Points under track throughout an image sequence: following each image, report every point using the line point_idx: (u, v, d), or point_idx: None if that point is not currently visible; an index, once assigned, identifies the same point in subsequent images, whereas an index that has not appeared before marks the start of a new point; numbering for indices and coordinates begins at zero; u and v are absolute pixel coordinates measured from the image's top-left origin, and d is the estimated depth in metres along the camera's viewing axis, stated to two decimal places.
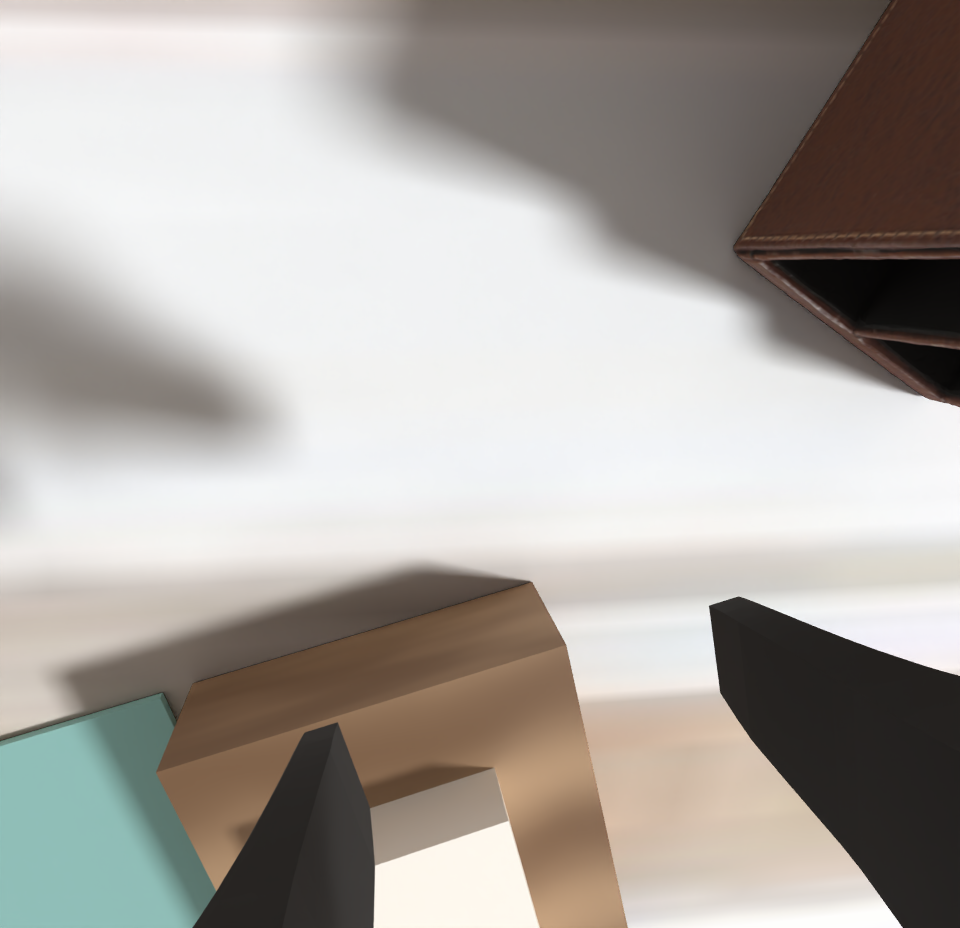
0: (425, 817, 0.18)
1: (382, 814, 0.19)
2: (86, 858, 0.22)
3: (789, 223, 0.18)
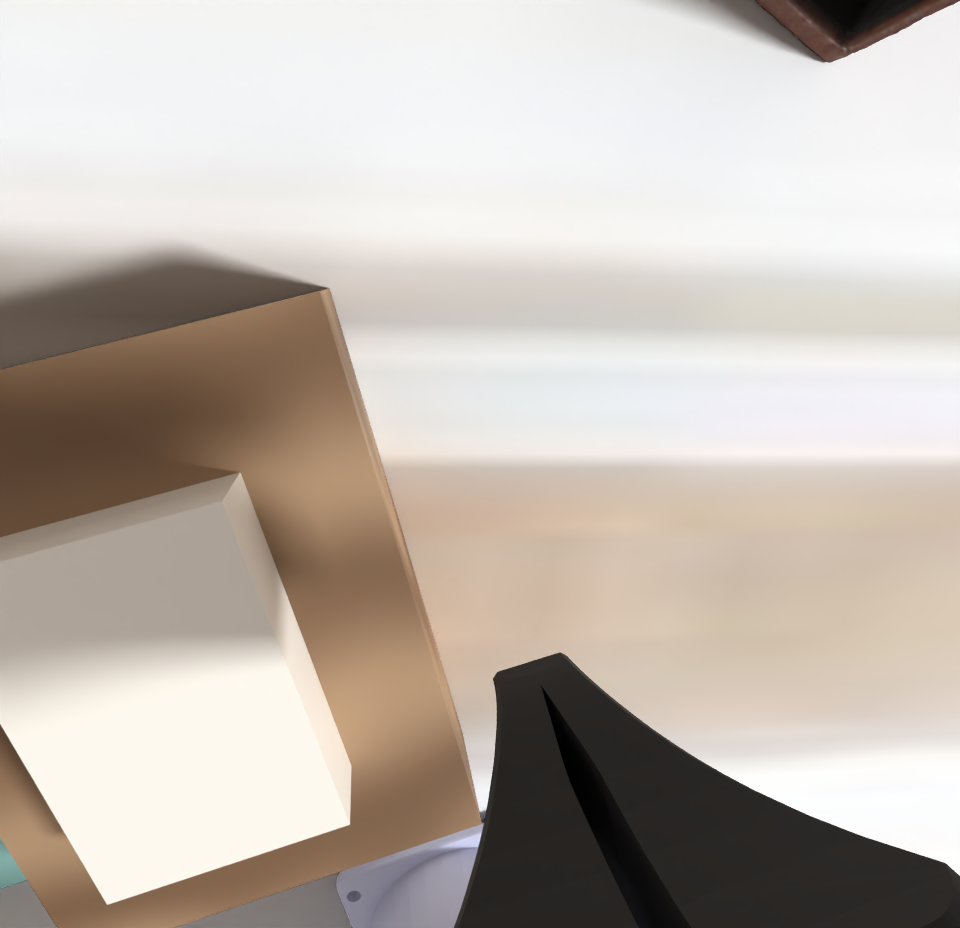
0: (126, 513, 0.14)
1: (79, 519, 0.14)
2: None
3: None
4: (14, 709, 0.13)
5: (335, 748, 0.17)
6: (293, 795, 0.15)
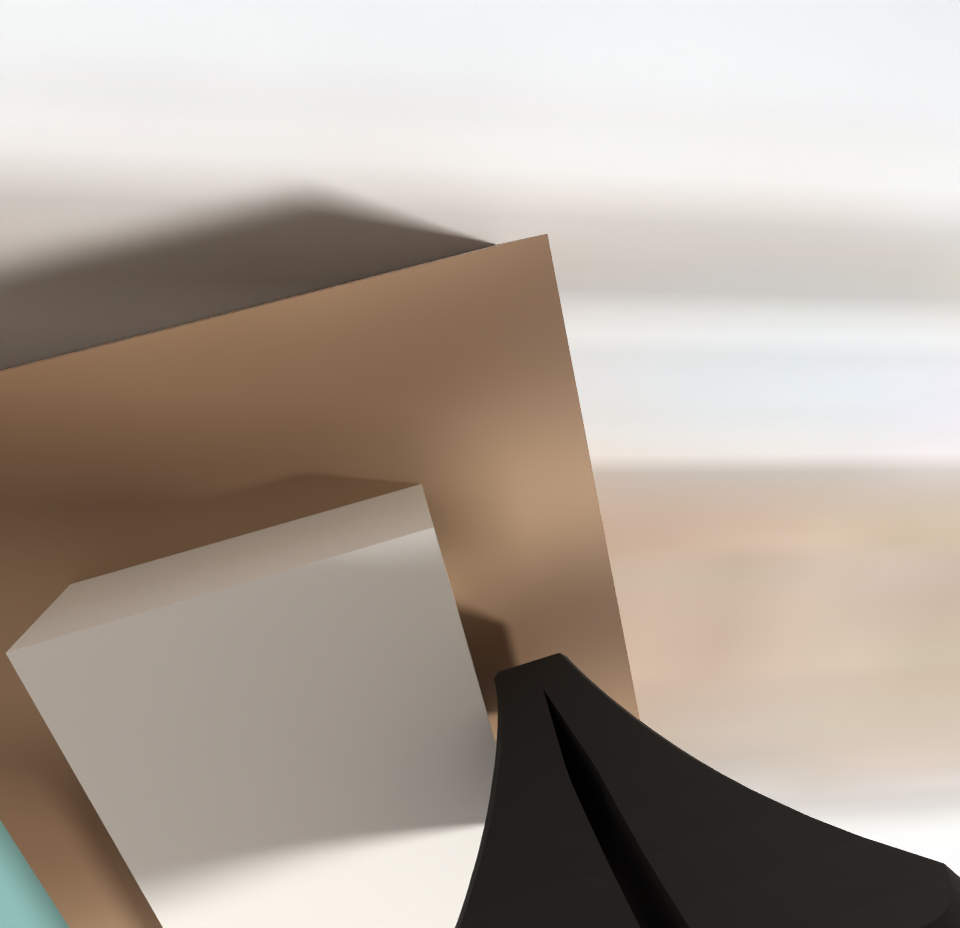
0: (284, 544, 0.10)
1: (212, 551, 0.10)
2: None
3: None
4: (132, 819, 0.10)
5: None
6: None
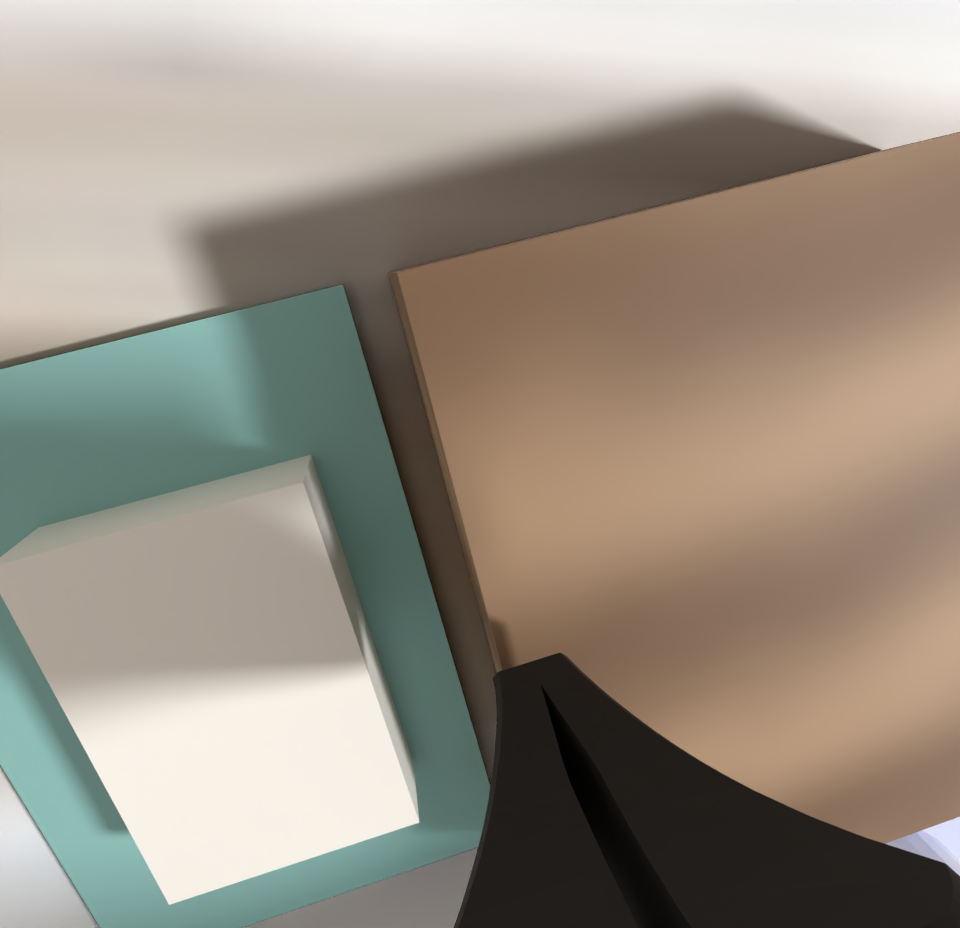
0: (128, 515, 0.13)
1: (182, 508, 0.12)
2: None
3: None
4: None
5: None
6: None
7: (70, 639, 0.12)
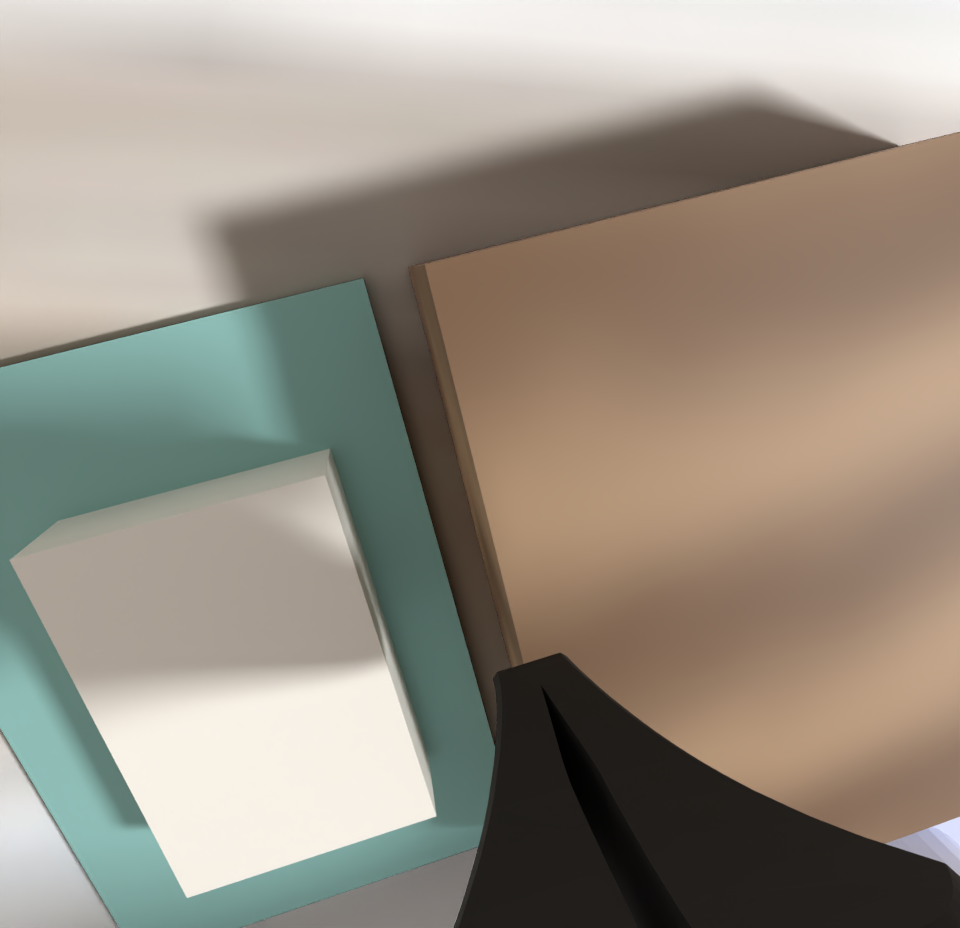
0: (150, 508, 0.13)
1: (204, 501, 0.12)
2: None
3: None
4: None
5: None
6: None
7: (91, 631, 0.12)
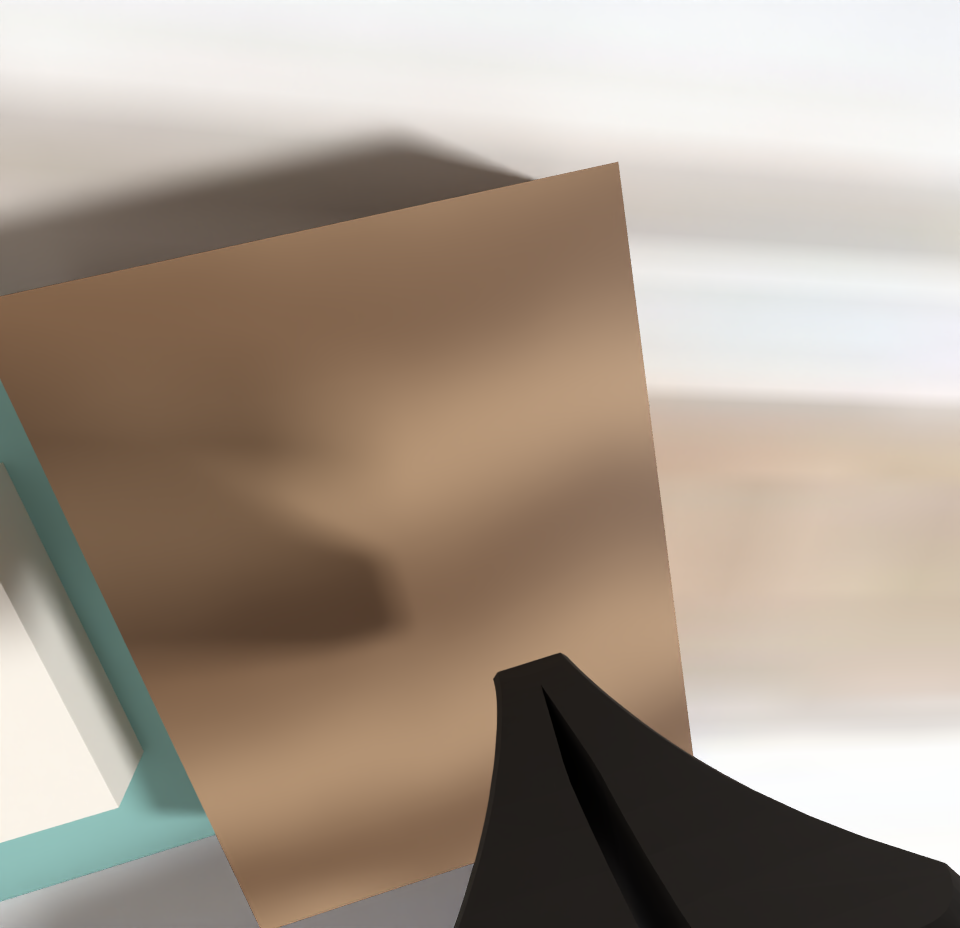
0: None
1: None
2: None
3: None
4: None
5: None
6: None
7: None
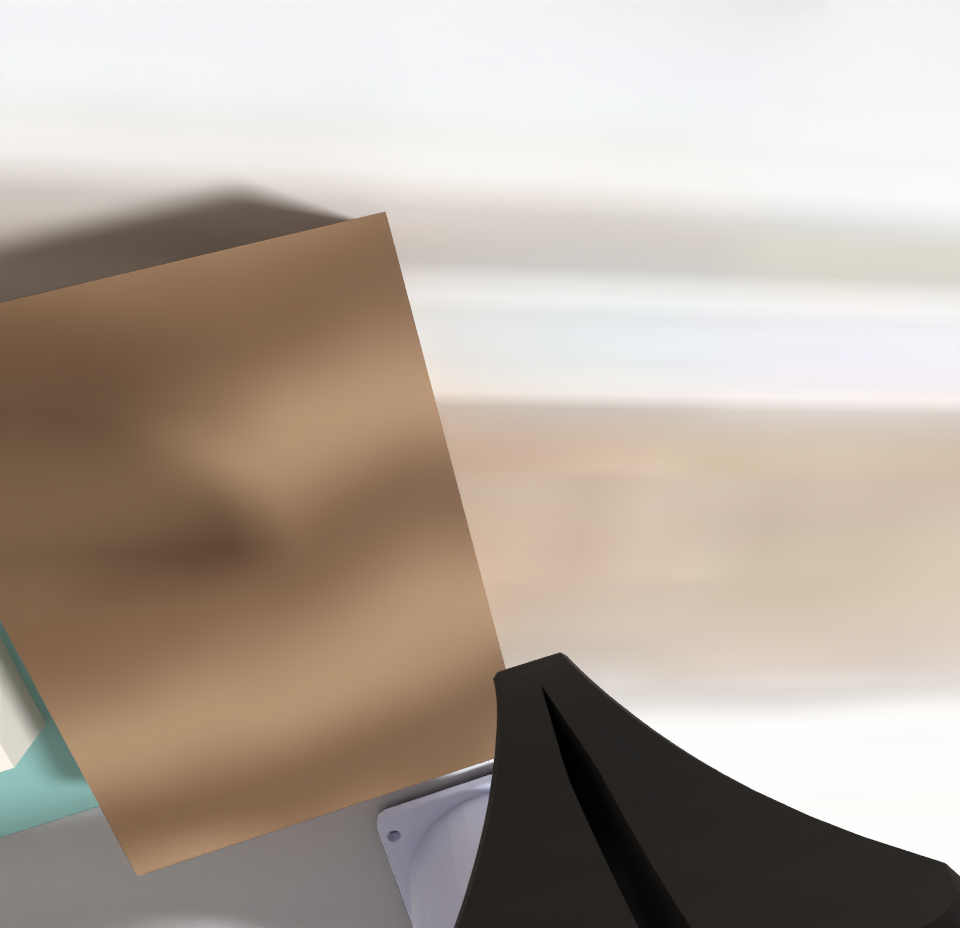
0: None
1: None
2: None
3: None
4: None
5: None
6: None
7: None
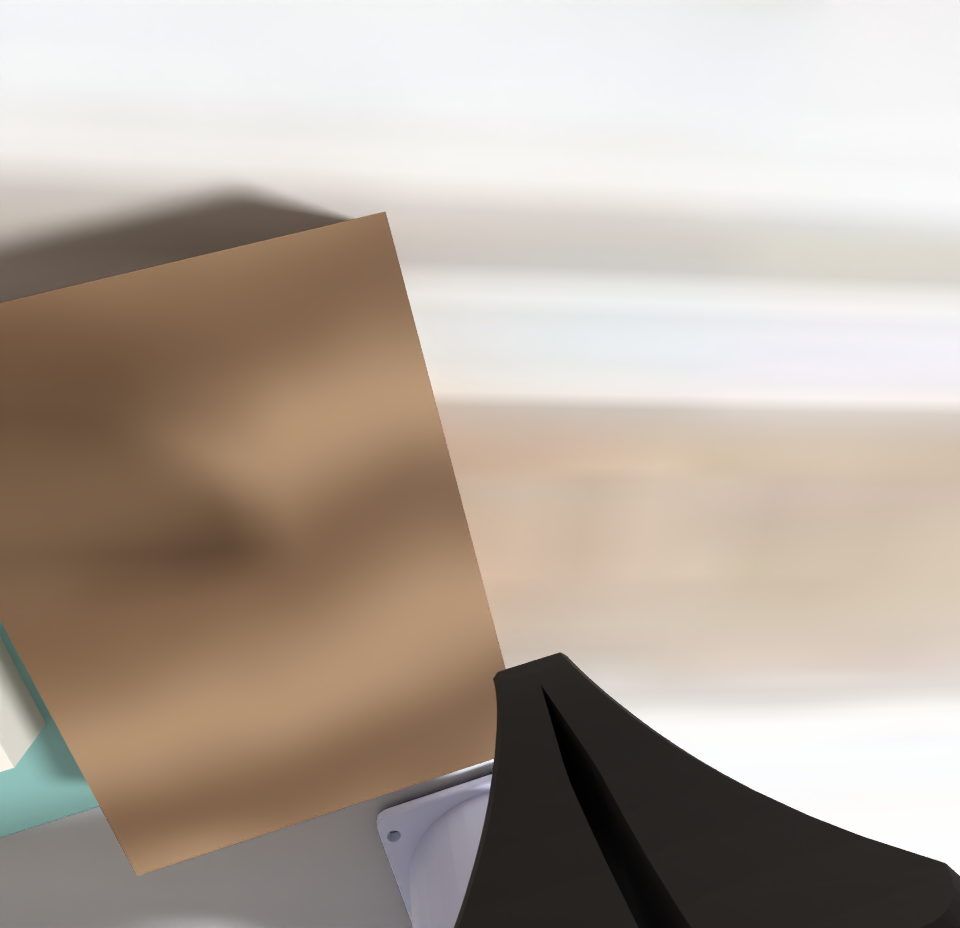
0: None
1: None
2: None
3: None
4: None
5: None
6: None
7: None
